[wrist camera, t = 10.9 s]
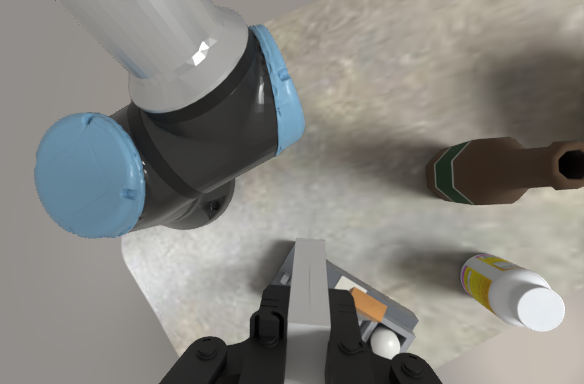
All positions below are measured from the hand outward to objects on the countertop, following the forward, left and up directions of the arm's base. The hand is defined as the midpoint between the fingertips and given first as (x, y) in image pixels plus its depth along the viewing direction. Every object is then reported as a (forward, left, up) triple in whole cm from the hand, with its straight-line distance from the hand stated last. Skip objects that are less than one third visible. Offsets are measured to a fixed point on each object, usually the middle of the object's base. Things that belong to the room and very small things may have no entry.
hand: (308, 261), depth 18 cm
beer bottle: (+19, +2, -32) cm, 37 cm away
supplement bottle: (+21, -13, -32) cm, 40 cm away
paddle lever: (0, -14, -28) cm, 31 cm away
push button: (+5, -18, -28) cm, 33 cm away
